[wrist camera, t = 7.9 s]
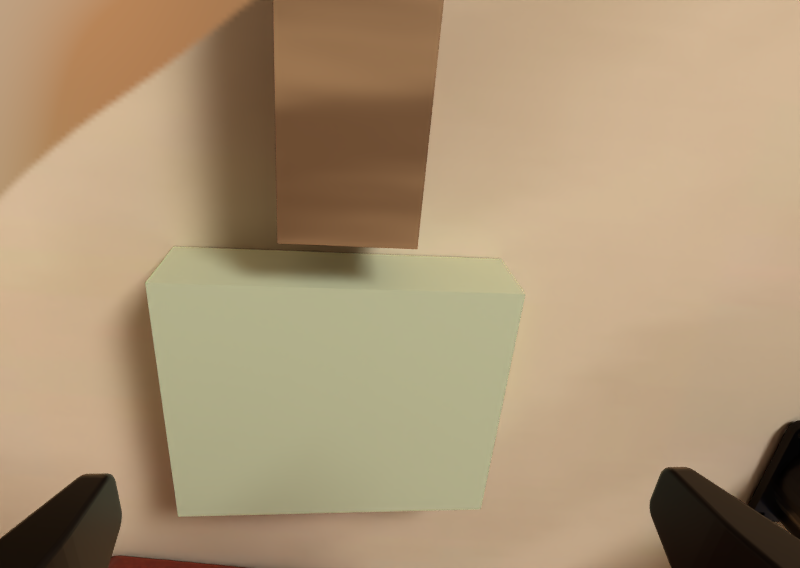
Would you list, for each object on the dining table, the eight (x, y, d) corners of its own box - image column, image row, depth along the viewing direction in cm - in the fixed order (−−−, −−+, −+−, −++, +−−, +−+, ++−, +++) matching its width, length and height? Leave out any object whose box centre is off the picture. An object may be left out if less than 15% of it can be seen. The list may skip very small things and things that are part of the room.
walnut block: (417, 249, 15) (457, -134, 11) (277, 243, 15) (270, -161, 11) (402, 207, 19) (430, -95, 15) (289, 201, 18) (288, -113, 14)
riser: (465, 456, 24) (480, 509, 22) (197, 459, 23) (178, 516, 20) (500, 258, 20) (525, 294, 17) (173, 246, 19) (144, 283, 16)
